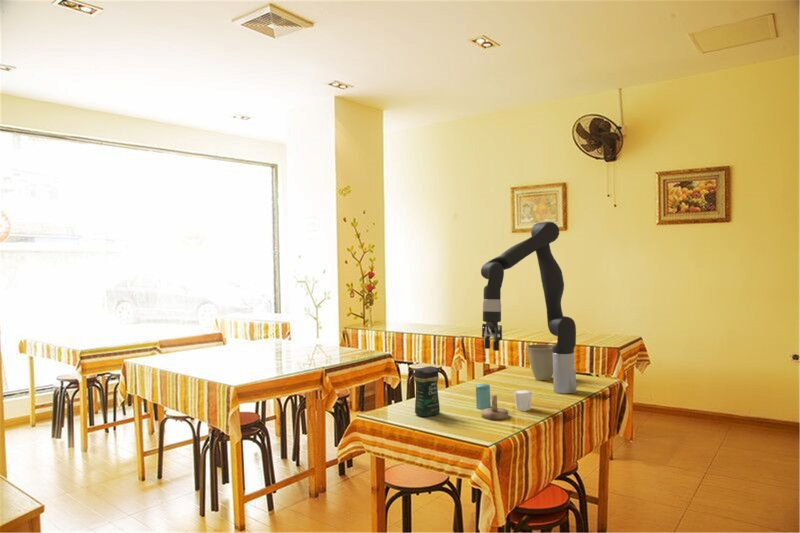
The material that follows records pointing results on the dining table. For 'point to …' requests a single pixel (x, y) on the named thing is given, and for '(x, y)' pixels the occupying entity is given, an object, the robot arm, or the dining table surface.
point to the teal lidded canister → (483, 396)
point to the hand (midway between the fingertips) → (491, 349)
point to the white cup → (523, 400)
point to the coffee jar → (426, 391)
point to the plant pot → (541, 360)
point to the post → (494, 411)
